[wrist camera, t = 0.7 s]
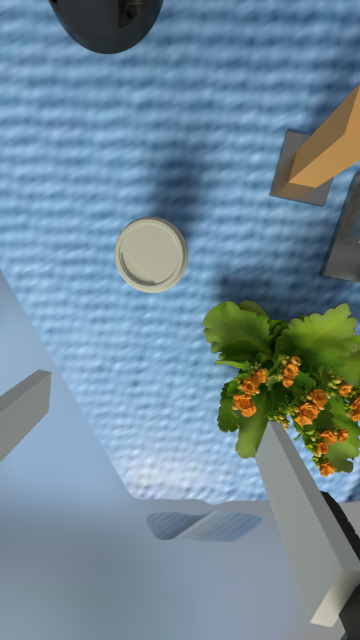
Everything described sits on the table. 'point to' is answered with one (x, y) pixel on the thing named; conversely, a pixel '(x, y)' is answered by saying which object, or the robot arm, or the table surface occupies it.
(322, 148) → the tan rectangular bar
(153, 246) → the coffee cup
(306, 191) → the plate
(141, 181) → the table surface
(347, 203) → the grey post stand
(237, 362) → the potted flower
